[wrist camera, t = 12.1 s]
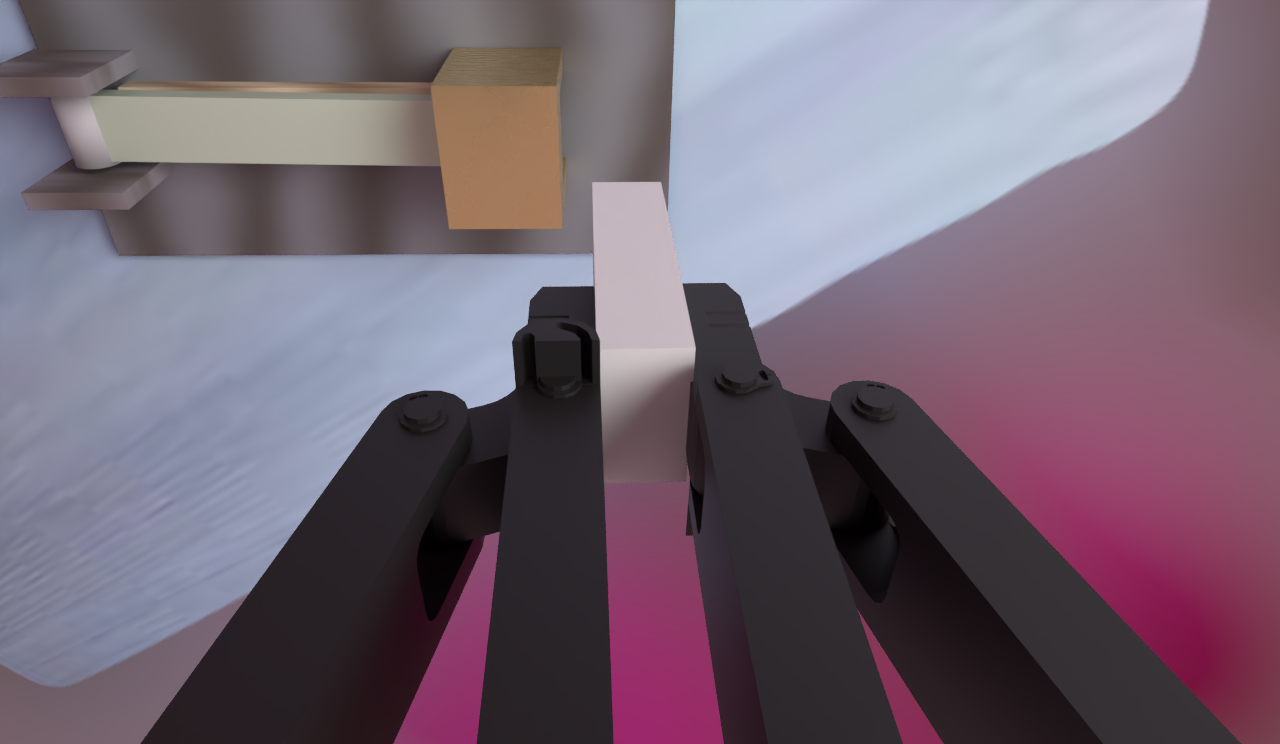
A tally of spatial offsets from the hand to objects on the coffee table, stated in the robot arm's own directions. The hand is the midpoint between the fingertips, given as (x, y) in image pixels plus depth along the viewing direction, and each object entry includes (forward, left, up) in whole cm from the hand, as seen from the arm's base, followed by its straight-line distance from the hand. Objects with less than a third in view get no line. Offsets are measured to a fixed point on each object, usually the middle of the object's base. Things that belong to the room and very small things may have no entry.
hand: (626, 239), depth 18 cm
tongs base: (-12, -4, -24) cm, 27 cm away
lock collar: (-5, -4, -24) cm, 25 cm away
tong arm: (-15, -4, -22) cm, 27 cm away
